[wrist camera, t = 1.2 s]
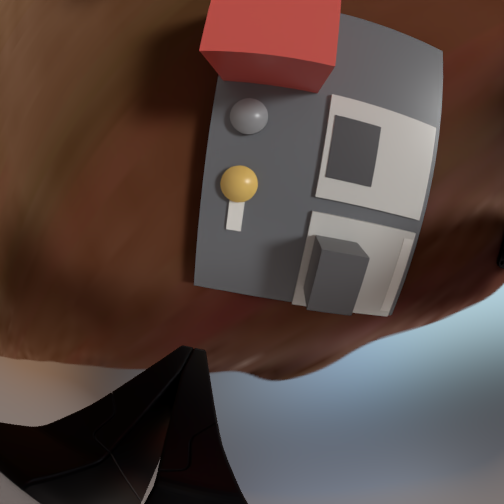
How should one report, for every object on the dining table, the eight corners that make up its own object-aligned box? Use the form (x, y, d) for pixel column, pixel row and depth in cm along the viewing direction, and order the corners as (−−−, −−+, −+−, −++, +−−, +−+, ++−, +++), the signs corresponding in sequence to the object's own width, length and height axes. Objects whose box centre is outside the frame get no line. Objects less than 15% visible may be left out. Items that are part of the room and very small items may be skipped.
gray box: (357, 242, 18) (369, 258, 15) (342, 293, 20) (351, 315, 17) (315, 234, 18) (322, 249, 16) (303, 288, 20) (306, 309, 17)
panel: (433, 56, 14) (445, 49, 12) (385, 306, 22) (393, 318, 20) (237, 8, 15) (233, -4, 13) (198, 276, 22) (192, 287, 20)
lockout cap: (327, 9, 13) (342, -36, 7) (317, 93, 16) (335, 66, 10) (239, -2, 13) (225, -48, 8) (223, 80, 16) (199, 50, 10)
